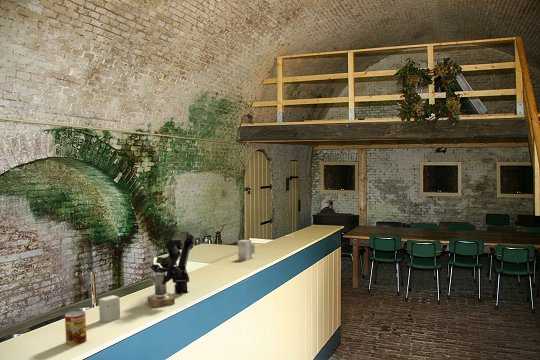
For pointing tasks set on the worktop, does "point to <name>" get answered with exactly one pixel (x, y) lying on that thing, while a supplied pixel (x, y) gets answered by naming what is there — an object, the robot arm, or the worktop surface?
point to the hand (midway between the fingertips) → (158, 283)
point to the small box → (109, 308)
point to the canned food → (75, 327)
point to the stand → (161, 301)
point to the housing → (160, 284)
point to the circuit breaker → (245, 250)
